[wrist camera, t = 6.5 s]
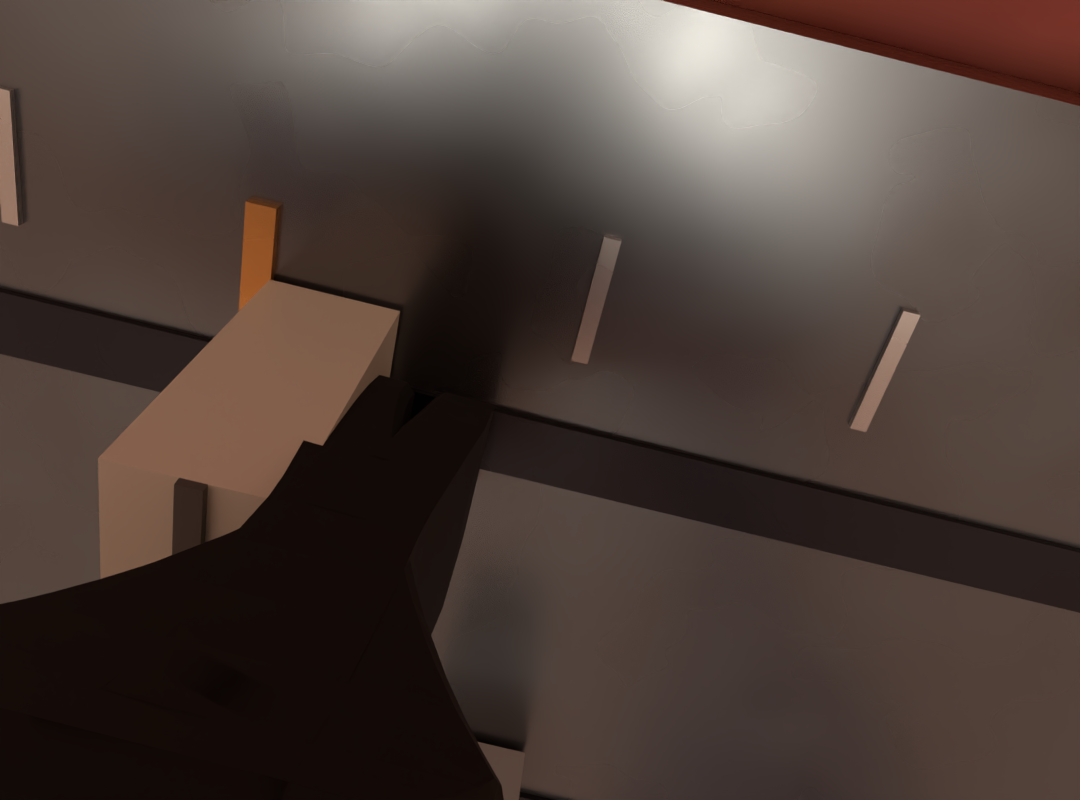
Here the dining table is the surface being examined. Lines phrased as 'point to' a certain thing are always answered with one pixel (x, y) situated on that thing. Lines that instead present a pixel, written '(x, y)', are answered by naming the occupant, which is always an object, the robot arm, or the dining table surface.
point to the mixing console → (608, 356)
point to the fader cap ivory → (237, 421)
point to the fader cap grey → (506, 768)
